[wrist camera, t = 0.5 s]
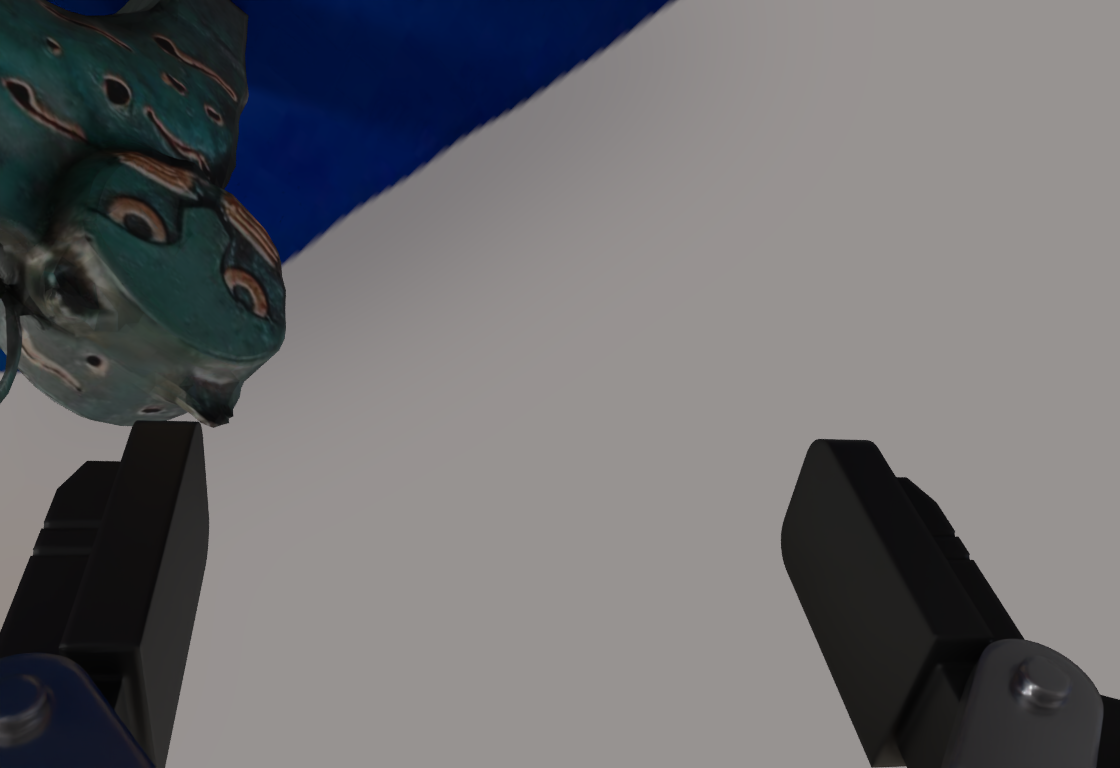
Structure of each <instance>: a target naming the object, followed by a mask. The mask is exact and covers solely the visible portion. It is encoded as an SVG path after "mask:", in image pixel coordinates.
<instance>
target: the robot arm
mask: <svg viewBox="0 0 1120 768" xmlns="http://www.w3.org/2000/svg"><path fill="white" fill-rule="evenodd" d="M954 533H955V531H954V529H953V528H952V526H951V524H950V523H949V521H948V520H947V518H946V516H945V515H944V514H943V512H942V510H941V509H940V507H939V506H938V504H937V503H936V502H935V501H934V500H933V499H932V498H930V497H929V496H928V495H927V494H926V493H925V492H923V491H922V490H921V489H920V488H919V487H917V486H916V485H915V484H914V483H913V482H912V481H910V480H909V479H908V478H905V477H904V478H903V477H901V478H900V477H896V476H895V475H894V473H893V472H892V470H891V468H890V467H889V465H888V464H887V462H886V460H885V458H884V457H883V455H882V454H881V452H880V450H879V449H878V447H877V446H876V445H875V444H874V443H873V442H871V441H868V440H835V439H818V440H815V441H814V442H813V443H812V444H811V446H810V447H809V449H808V451H807V454H806V457H805V460H804V463H803V466H802V468H801V472H800V474H799V477H798V480H797V483H796V486H795V489H794V492H793V495H792V498H791V501H790V504H789V506H788V509H787V512H786V515H785V518H784V522H783V526H782V532H781V549H782V557H783V561H784V565H785V568H786V570H787V573H788V575H789V577H790V580H791V582H792V584H793V586H794V589H795V591H796V593H797V596H798V598H799V600H800V603H801V605H802V607H803V609H804V612H805V614H806V616H807V619H808V621H809V623H810V626H811V628H812V630H813V633H814V635H815V637H816V639H817V642H818V644H819V646H820V649H821V651H822V653H823V656H824V658H825V660H826V663H827V665H828V667H829V670H830V672H831V674H832V677H833V679H834V681H835V684H836V686H837V688H838V690H839V693H840V695H841V698H842V700H843V702H844V704H845V707H846V709H847V711H848V714H849V716H850V718H851V721H852V723H853V725H854V728H855V730H856V732H857V735H858V737H859V739H860V742H861V744H862V746H863V748H864V751H865V753H866V755H867V758H868V760H869V762H870V765H871V767H897V766H907V768H1120V700H1118V699H1114V698H1110V697H1106V696H1103V695H1100V694H1099V692H1098V690H1097V688H1096V687H1095V685H1094V684H1093V682H1092V681H1091V679H1090V678H1089V677H1088V676H1087V675H1086V674H1085V673H1084V672H1083V671H1082V670H1081V669H1080V668H1079V667H1078V666H1077V665H1076V664H1074V663H1073V662H1072V661H1071V660H1069V659H1068V658H1067V657H1065V656H1063V655H1062V654H1060V653H1059V652H1057V651H1055V650H1053V649H1051V648H1049V647H1046V646H1044V645H1041V644H1039V643H1035V642H1032V641H1028V640H1024V638H1023V636H1022V635H1021V633H1020V632H1019V630H1018V629H1017V627H1016V626H1015V624H1014V623H1013V621H1012V619H1011V618H1010V616H1009V615H1008V613H1007V612H1006V610H1005V608H1004V607H1003V605H1002V604H1001V602H1000V600H999V599H998V598H997V596H996V594H995V593H994V591H993V590H992V588H991V586H990V585H989V583H988V582H987V580H986V579H985V577H984V576H983V574H982V573H981V571H980V570H979V568H978V566H977V565H976V563H975V562H974V560H970V559H969V555H970V554H969V552H968V551H967V549H966V548H965V546H964V544H963V543H962V541H961V540H960V538H959V537H955V534H954ZM208 537H209V512H208V498H207V485H206V473H205V459H204V446H203V434H202V428H201V424H200V423H199V422H187V421H148V420H137V421H135V423H134V424H133V427H132V429H131V432H130V435H129V439H128V441H127V444H126V447H125V450H124V453H123V456H122V459H121V462H118V461H117V462H116V461H87V462H85V463H84V464H83V465H82V466H81V467H80V468H79V469H78V470H77V471H76V472H75V473H74V474H73V475H72V476H71V477H70V478H69V479H67V480H66V481H65V482H64V483H63V484H62V485H61V486H60V487H59V488H58V489H57V491H56V493H55V496H54V498H53V501H52V503H51V506H50V508H49V511H48V513H47V516H46V518H45V521H44V529H41V531H40V533H39V536H38V538H37V541H36V544H35V546H34V548H33V550H34V551H33V556H30V559H29V562H28V564H27V566H26V569H25V571H24V574H23V577H22V579H21V581H20V584H19V586H18V589H17V592H16V594H15V596H14V599H13V602H12V604H11V607H10V609H9V611H8V614H7V617H6V619H5V622H4V624H3V627H2V629H1V632H0V768H165V764H166V759H167V755H168V749H169V745H170V740H171V735H172V729H173V724H174V720H175V715H176V710H177V705H178V700H179V695H180V690H181V685H182V680H183V675H184V670H185V665H186V660H187V655H188V650H189V645H190V640H191V635H192V630H193V626H194V621H195V615H196V611H197V606H198V601H199V596H200V591H201V586H202V580H203V576H204V571H205V566H206V560H207V551H208V539H209V538H208Z"/></svg>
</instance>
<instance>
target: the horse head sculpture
mask: <svg viewBox="0 0 1120 768" xmlns="http://www.w3.org/2000/svg"><path fill="white" fill-rule="evenodd" d="M247 25H248V15H247V14H246V13H244V12H243V11H242V10H241V9H240V8H238V7H237V6H236V5H235V4H234V3H232V2H231V1H230V0H129V1H128V3H127V4H126V5H125V6H124V7H123V8H122V9H120V10H119V11H118V12H117V13H115V14H113V15H105V16H85V15H81V14H77V13H74V12H70V11H67V10H65V9H63V8H60V7H58V6H56V5H54V4H52V3H50V2H48V1H46V0H0V348H1V349H2V350H3V351H4V353H5V354H6V355H7V359H6V371H5V373H4V375H3V378H2V380H1V381H0V403H1V402H2V401H3V399H4V398H5V397H6V395H7V394H8V393H9V390H10V388H11V386H12V383H13V381H14V378H15V376H16V373H17V369H19V370H20V372H21V373H22V374H23V375H24V376H25V377H26V378H27V379H28V380H29V381H30V382H31V383H32V384H33V385H34V386H35V387H36V388H37V389H39V390H40V391H41V392H43V393H44V394H45V395H46V396H48V397H49V398H50V399H51V400H53V401H54V402H56V403H57V404H59V405H61V406H63V407H65V408H66V409H68V410H70V411H72V412H74V413H76V414H77V415H79V416H82V417H85V418H87V419H90V420H94V421H99V422H105V423H109V424H114V425H119V426H133V424H134V423H135V421H137V420H148V421H167V420H169V419H172V418H175V417H178V416H180V415H183V414H185V413H187V412H189V413H190V414H191V415H193V416H194V417H195V418H196V419H197V420H198V421H200V422H201V423H204V424H205V425H208V426H210V427H213V428H214V427H217V426H220V425H223V424H227V423H229V418H231V417H233V408H234V406H235V405H236V403H237V401H238V399H239V397H240V391H241V387H242V385H243V383H244V381H245V380H246V379H248V378H249V377H250V376H251V375H252V374H253V373H254V372H255V371H256V370H258V369H259V368H260V367H261V366H262V365H263V364H264V363H265V362H267V361H268V360H269V359H270V358H271V357H272V356H273V355H274V354H275V353H276V352H277V351H279V349H280V347H281V345H282V343H283V341H284V339H285V331H286V321H285V298H286V290H285V286H284V282H283V278H282V270H281V261H280V257H279V253H278V251H277V249H276V247H275V245H274V244H273V242H272V240H271V239H270V237H269V235H268V234H267V232H266V230H265V229H264V228H263V227H262V225H261V224H260V223H259V222H258V221H257V220H256V219H255V218H254V217H253V216H252V215H251V213H250V212H249V211H248V210H247V209H246V208H245V207H244V206H243V205H242V204H241V203H240V202H239V201H238V200H237V199H236V198H235V197H234V196H233V195H232V194H231V193H229V192H227V191H225V190H224V189H225V187H226V186H227V184H228V182H229V180H230V177H231V174H232V172H233V170H234V169H235V167H236V149H237V142H238V135H239V118H240V115H241V113H242V111H243V109H244V107H245V105H246V103H247V100H248V96H249V94H248V86H247V79H246V66H245V49H246V41H247Z"/></svg>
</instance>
